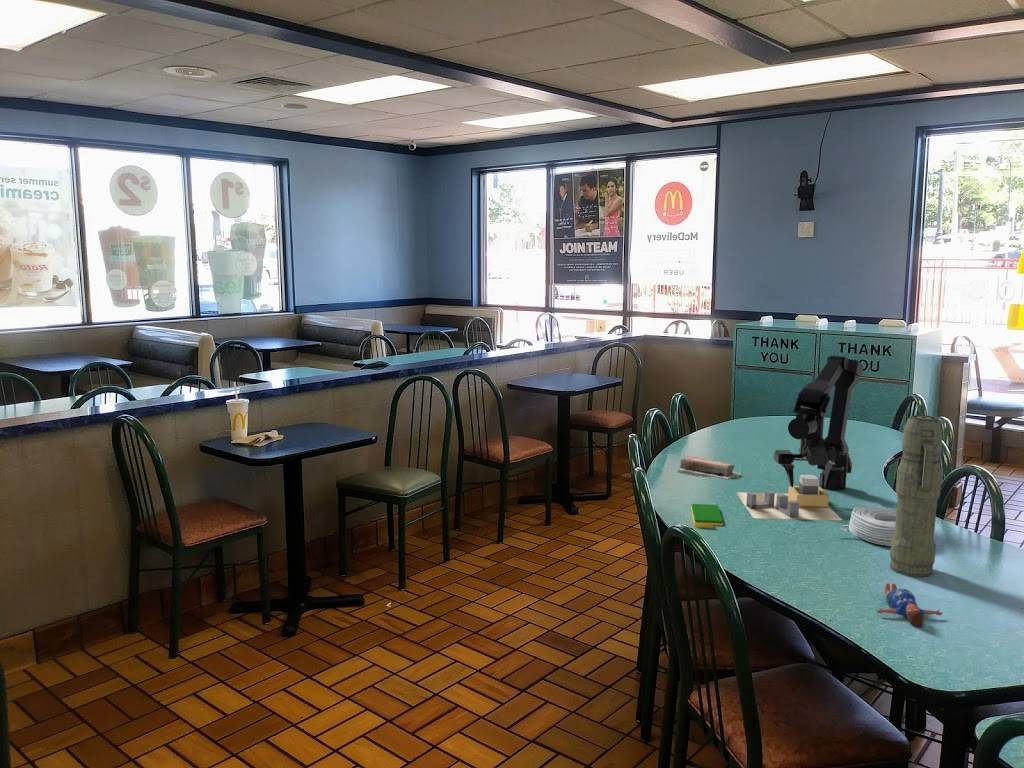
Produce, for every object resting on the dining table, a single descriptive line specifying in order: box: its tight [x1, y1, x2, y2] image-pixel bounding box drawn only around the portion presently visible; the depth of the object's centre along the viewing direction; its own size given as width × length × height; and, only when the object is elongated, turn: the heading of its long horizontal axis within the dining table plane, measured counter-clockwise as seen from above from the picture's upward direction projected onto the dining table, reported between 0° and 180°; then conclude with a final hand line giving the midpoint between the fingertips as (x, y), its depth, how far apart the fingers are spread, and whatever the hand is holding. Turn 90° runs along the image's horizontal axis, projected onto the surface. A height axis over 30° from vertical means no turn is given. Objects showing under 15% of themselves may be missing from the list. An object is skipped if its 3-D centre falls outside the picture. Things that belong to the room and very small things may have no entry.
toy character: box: [876, 582, 943, 629], centre depth 161 cm, size 12×5×15 cm
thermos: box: [889, 414, 943, 578], centre depth 179 cm, size 9×12×35 cm
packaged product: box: [676, 455, 742, 481], centre depth 259 cm, size 18×5×10 cm
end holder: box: [787, 485, 830, 508], centre depth 226 cm, size 8×8×4 cm
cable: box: [839, 506, 897, 547], centre depth 203 cm, size 18×18×6 cm
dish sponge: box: [691, 503, 724, 529], centre depth 216 cm, size 7×14×2 cm, turn 171°
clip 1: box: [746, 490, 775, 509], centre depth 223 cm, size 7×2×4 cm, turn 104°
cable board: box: [735, 491, 843, 521], centre depth 225 cm, size 23×23×1 cm
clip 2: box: [776, 495, 799, 517], centre depth 218 cm, size 7×2×4 cm, turn 12°
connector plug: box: [798, 474, 820, 494], centre depth 226 cm, size 4×4×7 cm
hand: (808, 487), depth 226 cm, fingers open, 9 cm apart
